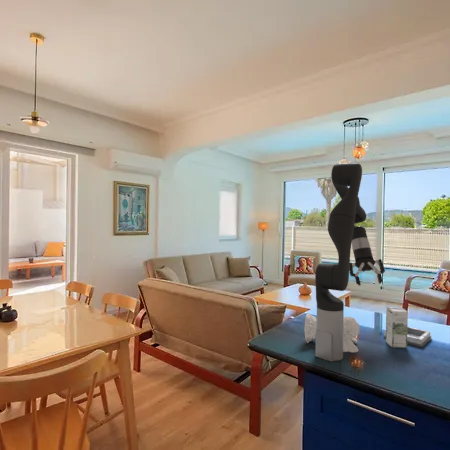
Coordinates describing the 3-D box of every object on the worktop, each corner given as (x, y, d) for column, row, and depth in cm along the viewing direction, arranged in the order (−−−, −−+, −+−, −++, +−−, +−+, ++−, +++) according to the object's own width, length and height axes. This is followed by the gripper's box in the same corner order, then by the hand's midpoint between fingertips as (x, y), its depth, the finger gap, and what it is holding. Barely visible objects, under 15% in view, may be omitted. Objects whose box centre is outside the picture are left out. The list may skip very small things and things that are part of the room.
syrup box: (400, 342, 122) (400, 307, 122) (407, 348, 117) (408, 311, 117) (385, 342, 123) (385, 306, 123) (392, 348, 117) (392, 310, 117)
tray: (421, 347, 118) (421, 340, 118) (383, 337, 128) (383, 330, 128) (431, 338, 127) (431, 331, 127) (394, 330, 138) (395, 323, 138)
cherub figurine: (309, 310, 131) (359, 311, 123) (311, 339, 130) (362, 342, 122) (302, 317, 120) (357, 319, 111) (305, 349, 119) (361, 354, 110)
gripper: (346, 249, 138) (353, 284, 132) (379, 244, 134) (389, 281, 128) (344, 253, 144) (351, 287, 138) (376, 249, 141) (385, 284, 135)
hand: (369, 284), depth 133 cm, fingers open, 8 cm apart
